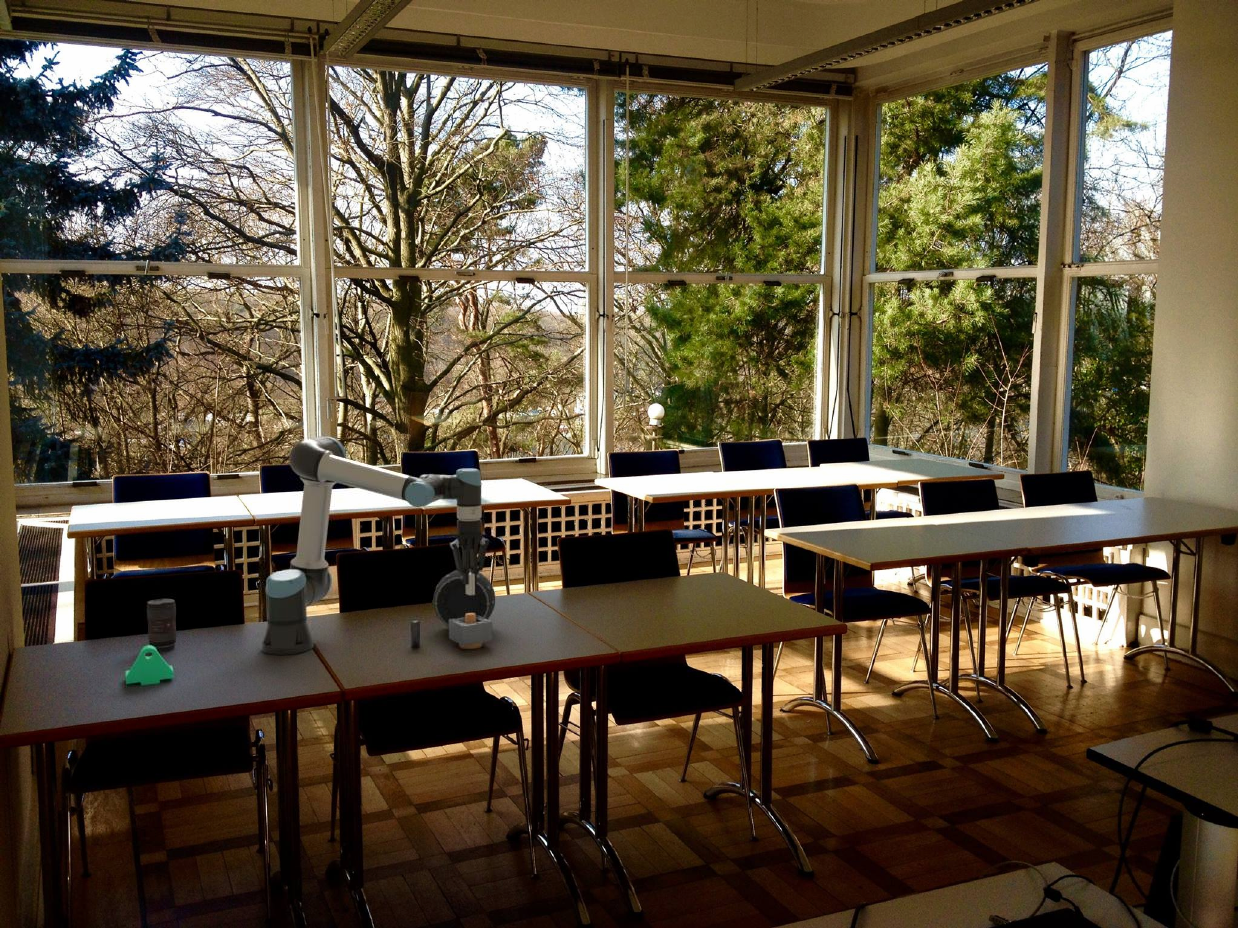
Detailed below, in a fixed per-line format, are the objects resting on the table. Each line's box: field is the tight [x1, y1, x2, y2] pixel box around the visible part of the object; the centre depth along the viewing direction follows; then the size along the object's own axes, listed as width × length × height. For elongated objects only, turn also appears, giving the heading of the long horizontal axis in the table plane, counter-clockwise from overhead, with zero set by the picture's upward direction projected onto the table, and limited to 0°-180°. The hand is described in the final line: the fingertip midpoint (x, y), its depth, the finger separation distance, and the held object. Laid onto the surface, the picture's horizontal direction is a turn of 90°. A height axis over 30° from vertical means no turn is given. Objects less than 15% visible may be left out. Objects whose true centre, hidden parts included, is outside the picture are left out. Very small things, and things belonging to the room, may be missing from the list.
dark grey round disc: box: [432, 568, 496, 629], centre depth 349 cm, size 11×20×20 cm, turn 89°
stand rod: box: [410, 619, 421, 649], centre depth 329 cm, size 3×3×8 cm
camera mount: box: [125, 644, 175, 686], centre depth 296 cm, size 12×8×10 cm, turn 115°
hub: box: [458, 613, 483, 650], centre depth 331 cm, size 7×7×10 cm
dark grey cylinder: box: [146, 598, 177, 653], centre depth 326 cm, size 8×8×15 cm
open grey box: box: [448, 615, 493, 646], centre depth 331 cm, size 10×10×6 cm
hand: (470, 594), depth 329 cm, fingers closed
